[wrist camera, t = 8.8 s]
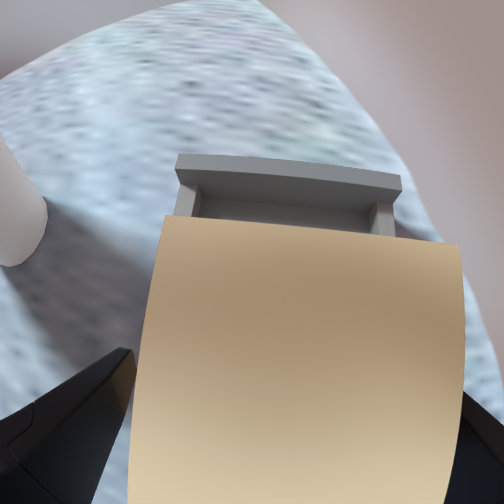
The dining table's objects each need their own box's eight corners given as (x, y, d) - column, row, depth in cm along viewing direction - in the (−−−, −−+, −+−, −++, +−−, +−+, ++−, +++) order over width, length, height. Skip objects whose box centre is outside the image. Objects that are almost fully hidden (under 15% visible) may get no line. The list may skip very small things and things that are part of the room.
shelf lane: (366, 468, 14) (393, 490, 10) (153, 451, 15) (126, 470, 11) (377, 208, 20) (400, 175, 16) (191, 191, 20) (178, 153, 16)
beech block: (316, 425, 14) (436, 526, 3) (217, 416, 15) (127, 518, 3) (325, 330, 16) (458, 245, 5) (228, 322, 16) (164, 214, 5)
